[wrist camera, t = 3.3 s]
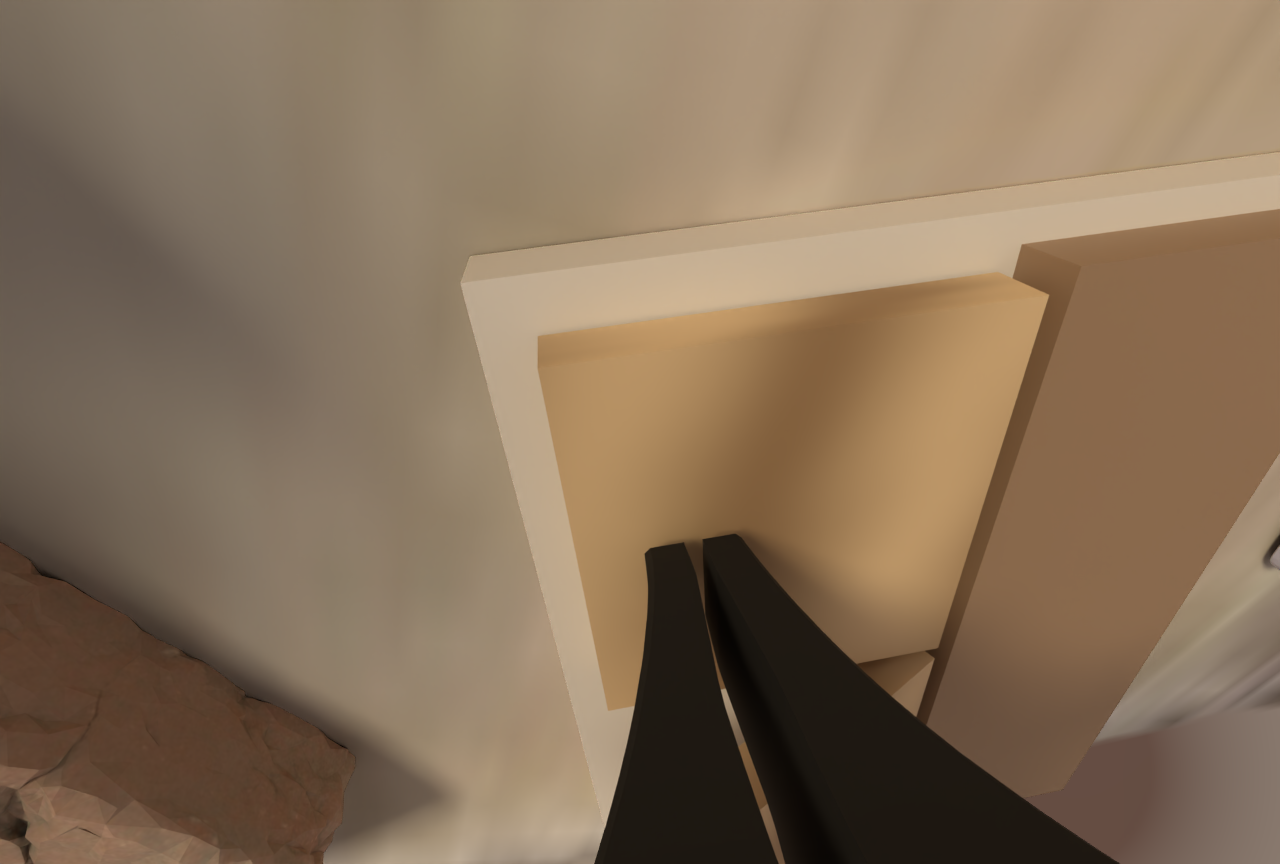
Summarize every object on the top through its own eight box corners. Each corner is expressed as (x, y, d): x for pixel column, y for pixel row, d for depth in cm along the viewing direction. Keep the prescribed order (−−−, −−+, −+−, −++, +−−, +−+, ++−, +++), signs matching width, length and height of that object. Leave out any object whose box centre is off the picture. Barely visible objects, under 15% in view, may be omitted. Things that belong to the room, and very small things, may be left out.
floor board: (1288, 150, 11) (1484, 172, 9) (1014, 718, 22) (1070, 795, 20) (470, 256, 10) (449, 313, 8) (605, 803, 21) (614, 895, 19)
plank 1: (998, 271, 10) (1049, 294, 9) (910, 608, 15) (938, 648, 14) (537, 336, 9) (537, 368, 8) (603, 665, 14) (608, 711, 13)
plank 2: (891, 625, 15) (934, 658, 14) (852, 792, 20) (882, 824, 19) (634, 829, 11) (669, 888, 11) (662, 969, 16) (688, 1018, 15)
